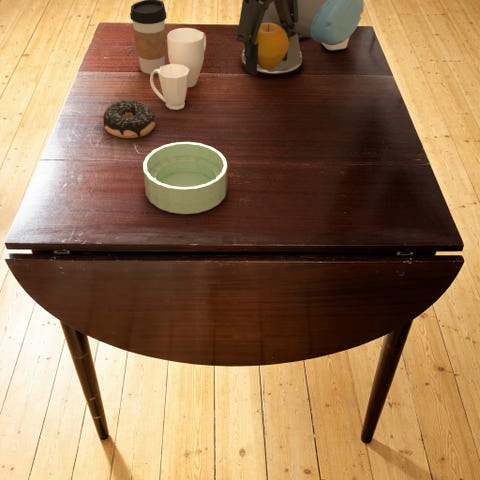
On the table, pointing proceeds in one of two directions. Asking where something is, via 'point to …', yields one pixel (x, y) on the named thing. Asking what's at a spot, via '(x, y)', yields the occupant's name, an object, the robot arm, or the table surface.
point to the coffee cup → (149, 33)
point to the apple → (271, 45)
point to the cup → (172, 84)
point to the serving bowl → (185, 177)
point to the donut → (129, 119)
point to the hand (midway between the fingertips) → (266, 65)
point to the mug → (187, 50)
